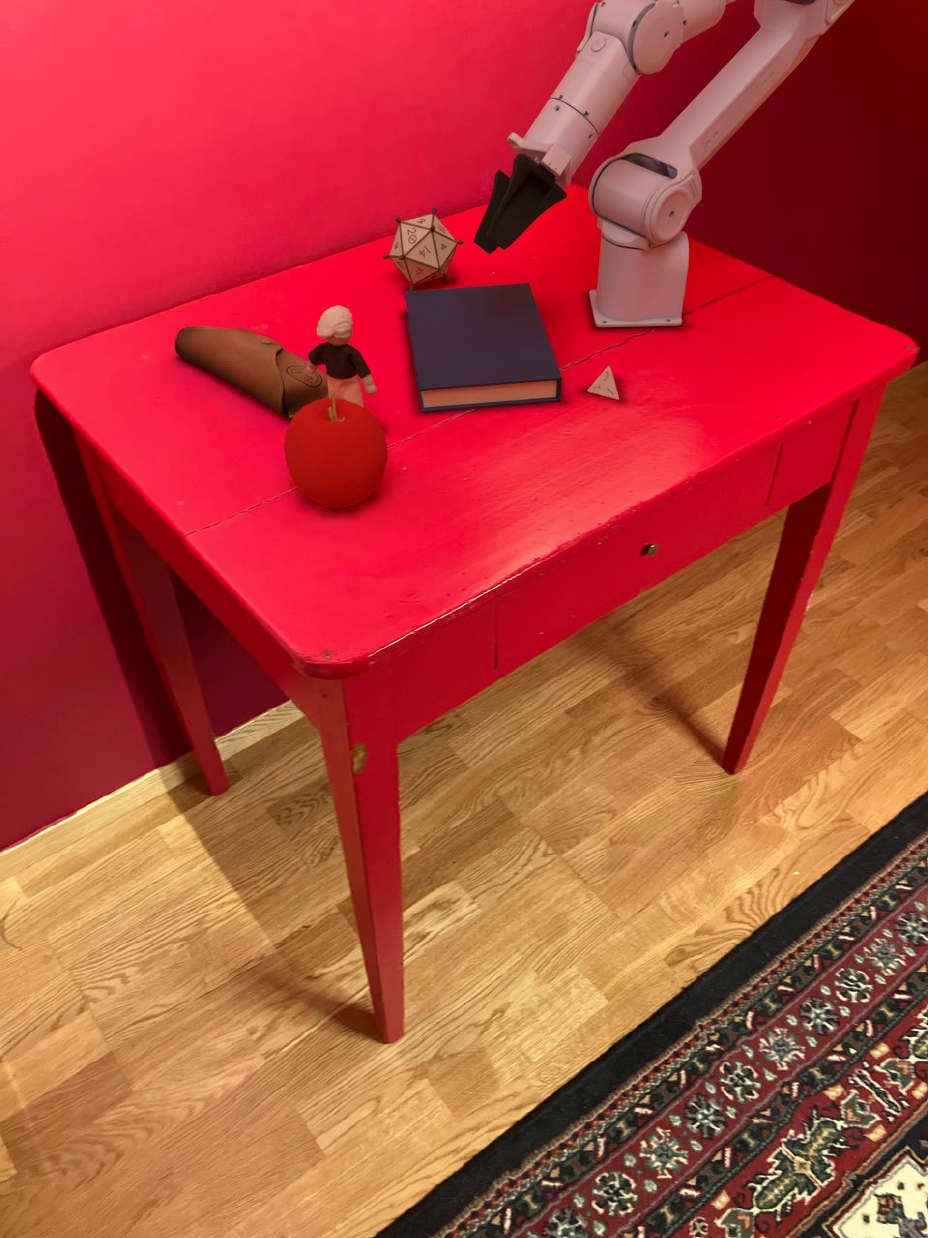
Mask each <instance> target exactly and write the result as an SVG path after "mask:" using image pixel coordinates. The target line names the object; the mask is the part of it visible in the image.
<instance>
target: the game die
mask: <svg viewBox="0 0 928 1238" xmlns="http://www.w3.org/2000/svg"><path fill="white" fill-rule="evenodd" d="M437 211H438V209H437V205H435V206H433V208H432V210H431V213H427V214H424V215H421V216H416V217H412V218H408V219H405V220H401V218H400V216H398V215H397V216H396V215H394V221H395V222H396V223H398V225H397V227H396V230H395V234H394V237H393V240H392V243H391V246H390V250H389V253H388V254H387V253H386V254H383V255H382V256H381V259H383V260H388V259H390V261H391V262H392V263H393V264H394V265H395V266H396V268H397V269H398V270H399V271H400V272H401V274H402V275H403V276H404V277H405V278H406V280H407V281H408V282H409V283H410V287H409V291H415V286H416V285H420V284H423V283H427V282H431V281H435V280H438V279H442V278H444V280H445V281H446V282H451V277H450V276H449V275H448V272H449V270H450V268H451V267H450V266H451V265H452V262H453V258H454V256H455V253H456V250H457V248H458V245H460V246H461V245H464V244H465V242H466V240H463V239H458V240H457V239H456V237H454V236H453V235H452V233H451V232H450V231H449V230H448V228H447V226H445V225H444V223H443V222H442V221H441V220H440V219H439V217H438V216H437V215H436V213H437Z"/></svg>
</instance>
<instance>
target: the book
mask: <svg viewBox="0 0 928 1238" xmlns="http://www.w3.org/2000/svg"><path fill="white" fill-rule="evenodd" d="M404 298H405V304H406V311H407V312H405V318H406V324H407V331H408V337H409V343H410V348H411V350H410V351H411V355H412V364H413V367H414V368H413V369H414V375H415V382H416V388H417V395H418V400H419V407H420V413H421V414H425V413H438V412H439V413H440V412H450V411H462V410H463V411H464V410H476V409H487V408H488V409H489V408H498V407H499V408H500V407H501V408H502V407H512V406H514V407H515V406H524V405H537V404H551V403H561V400H562V384H563V383H562V382H563V376H562V374H561V371H560V368H559V366H558V362H557V360H556V356H555V353H554V350H553V348H552V345H551V342H550V339H549V336H548V334H547V330H546V327H545V324H544V322H543V319H542V316H541V313H540V310H539V308H538V307H539V306H538V304H537V302H536V299H535V296H534V293H533V291H532V288H531V284H530V282H520V283H507V284H493V285H478V286H465V287H464V286H463V287H453V288H452V287H451V288H439V289H436V288H435V289H425V290H413V291H410V290H407V291H404Z"/></svg>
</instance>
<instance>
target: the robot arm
mask: <svg viewBox="0 0 928 1238" xmlns="http://www.w3.org/2000/svg"><path fill="white" fill-rule="evenodd" d="M736 1H737V0H601V2H597V1H596V2H594V5H593V6H592V8H591V9H590V12H589V15H588V18H587V22H586V28H585V33H584V36H583V39H582V40H581V42H580V44H579V46H578V47H577V49H576V54H575V56H574V57H575V59H574V61H573V62H572V64H571V66H570V67H569V69H568V70H567V72H566V73H565V75H564V76H563V78H562V79H561V80H560V82H559V84H558V85H557V86H556V88H555V89H554V91H553V93H552V94H551V95H550V97H549V98H548V100H547V102H546V103H545V104H544V106H543V108H542V109H541V110H540V112H539V113H538V115H537V117H536V118H535V120H534V121H533V122H532V124H531V125H530V127H529V129H528V130H527V132H526V133H525V134H524V135H523V136H524V137H523V138H522V137H521V136H520V135H519V134H518V133H516V132H511V133H510V134H509V135H508V137H507V138H506V143H507V144H508V145H509V146H511V147H512V148H513V151H514V154H515V157H514V159H513V163H512V170H511V174H510V176H509V175H508V174H506V173H505V172H503V171H502V170H501V169H497V170H496V172H495V173H494V178H493V185H492V186H493V187H492V192H491V195H490V199H489V202H488V204H487V207H486V209H485V211H484V214H483V216H482V218H481V221H480V223H479V225H478V227H477V230H476V232H475V234H474V237H473V243H474V244H475V245H477V246H478V247H479V248H480V249H481V250H483V251H484V252H485V253H486V254H488V255H491V254H493V253H494V252H495V251H496V250H498V248H500V249H501V250H502V251H505V250H507V249H508V248H509V247H511V245H513V244H514V243H515V242H516V241H517V240H518V239H519V238H520V237H521V236H522V234H524V232H525V231H526V230H527V229H528V228H530V226H532V224H533V223H534V222H536V220H537V219H538V218H539V217H540V216H542V215H543V214H544V213H545V212H546V211H548V210H549V209H551V208H552V207H553V206H555V205H556V204H558V203H560V202H562V201H563V200H565V199H567V198H568V194H567V192H566V191H565V190H566V189H567V188H568V187H569V186H570V184H571V183H572V178H573V176H574V175H575V173H576V171H577V170H578V169H579V167H580V165H582V163H583V161H584V160H585V159H586V157H587V155H588V154H589V153H590V151H591V149H592V148H593V147H594V146H595V144H596V142H597V141H598V139H599V137H600V136H601V135H602V133H603V132H604V130H605V129H606V127H607V126H608V124H609V123H610V122H611V120H612V119H613V117H614V116H615V114H616V113H617V111H618V110H619V108H620V107H621V105H622V104H623V103H624V101H625V99H626V98H627V97H628V95H629V93H630V92H631V90H632V89H633V87H634V86H635V85H636V83H637V82H638V80H639V79H640V77H641V76H642V74H645V75H651V74H654V73H660V72H661V71H662V70H663V69H664V68H665V67H666V66H667V64H668V63H669V62H670V59H671V57H672V56H673V54H674V53H675V51H677V49H679V48H680V47H681V45H682V44H683V43H685V42H687V41H689V40H690V39H692V38H694V37H696V36H698V35H699V34H702V33H703V32H705V31H707V30H709V29H710V28H713V27H714V26H716V25H717V24H718V23H719V22H720V20H721V19H722V17H723V15H724V13H725V10H726V5H729V4H731V3H734V2H736ZM855 1H856V0H754V6H753V16H754V18H755V19H756V21H757V23H758V25H759V29H758V30H757V31H756V32H755V34H754V35H753V36H752V37H751V38H750V39H749V40H748V41H747V42H746V43H745V44H744V45H743V46H742V47H741V49H740V50H738V52H737V53H736V54H735V55H734V56H733V57H732V58H731V59H730V60H729V61H728V63H726V64H725V65H724V67H723V68H722V69H720V71H719V72H718V73H717V74H716V75H715V77H713V78H712V80H711V81H710V82H709V83H708V84H707V85H706V86H705V87H704V88H703V89H702V90H701V91H700V92H699V93H698V94H697V96H696V97H695V98H694V99H692V101H691V102H690V103H689V104H688V105H687V106H686V108H684V109H683V110H682V112H681V113H680V114H678V116H677V117H676V118H675V119H674V120H673V121H672V122H671V123H670V124H669V125H668V126H667V127H666V128H665V130H664V131H663V132H662V133H661V134H660V135H658V136H655V137H650V138H646V139H641V140H638V141H637V140H636V141H634V142H631V143H629V144H628V145H627V146H626V147H625V148H624V149H623V151H621V152H620V153H618V154H617V155H614V156H611V157H609V158H607V159H606V160H604V161H603V162H602V163H601V164H600V165H599V166H598V168H597V169H596V170H595V172H594V174H593V175H592V179H591V180H590V184H589V187H588V193H587V201H588V206H589V209H590V212H592V214H593V215H594V216H596V217H597V224H596V227H597V229H599V230H600V231H601V235H600V247H599V258H598V259H599V260H598V271H597V272H598V273H597V285H596V286H597V287H596V289H591V290H589V292H588V296H589V300H590V306H591V310H592V316H593V320H594V325H595V327H597V328H631V327H635V328H636V327H678V326H682V323H683V319H682V313H683V308H684V302H685V301H684V300H685V294H686V287H687V279H688V273H689V264H690V247H689V246H690V243H689V238H688V234H687V232H686V231H683V229H684V226H686V224H687V221H688V218H689V216H690V215H691V213H692V211H693V210H694V209H695V207H696V206H697V205H698V204H699V203H700V202H701V201H702V199H703V198H702V197H703V185H702V179H701V175H700V171H701V170H702V169H703V168H704V167H705V165H707V164H708V162H709V161H711V159H712V158H713V157H714V156H715V155H716V154H717V153H718V152H719V151H720V149H722V148H723V146H724V145H725V144H726V143H727V142H728V141H729V140H730V139H731V138H732V137H733V135H734V134H736V132H738V130H739V129H740V128H741V127H743V125H744V124H745V123H746V121H747V120H748V119H750V117H751V116H752V115H753V114H754V113H755V112H756V111H757V110H758V109H759V108H760V107H761V105H762V104H764V103H765V102H766V100H767V99H768V98H769V97H770V96H771V95H772V94H773V93H774V92H775V91H776V89H777V88H778V87H779V86H780V85H781V84H782V83H783V82H784V81H785V80H786V79H787V78H788V76H790V75H791V73H793V72H794V70H796V68H797V67H798V66H799V65H800V63H802V62H803V60H804V59H805V58H806V57H807V56H808V54H809V53H810V51H811V50H812V48H813V47H814V46H815V43H816V42H817V41H818V39H819V38H820V36H822V35H824V34H825V33H826V32H827V31H828V30H829V29H830V28H831V27H832V25H833V24H835V23H836V21H837V20H838V19H839V18H840V17H841V16H842V15H843V14H844V13H845V12H846V10H848V9H849V8H850V6H852V4H853V3H854V2H855Z"/></svg>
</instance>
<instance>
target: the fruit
mask: <svg viewBox="0 0 928 1238" xmlns="http://www.w3.org/2000/svg"><path fill="white" fill-rule="evenodd" d="M331 395H332V398H325V399H320V400H317V401H314V402H312V403H310V404H308V405H306V406H304V407H303V408H302V409H301V410H300V411H299V412H298V413H297V414H296V415H295V416H294V417H293V418H291V420H290V423H289V425H288V427H287V429H286V432H285V436H284V442H283V451H284V459H285V463H286V466H287V469H288V472H289V475H290V477H291V479H292V481H293V483H294V485H295V486H296V487H297V489H298V490H299V491H300V492H301V493H302V495H304V496H305V497H307V498H308V499H310V500H311V501H313V502H314V503H316V504H318V505H320V506H321V507H325V508H347V507H350V506H354V505H357V504H359V503H361V502H363V501H365V500H366V499H368V498H369V497H370V496H371V495H372V494H373V493H374V492H375V491H376V489H377V488H378V486H379V484H380V482H381V480H382V478H383V476H384V473H385V470H386V466H387V461H388V456H389V454H388V453H389V452H388V444H387V440H386V436H385V433H384V430H383V428H382V425H381V424H380V422H379V420H378V418H377V417H376V416H375V414H373V413H372V412H371V411H370V410H368V408H366V407H365V406H364V407H362V406H360V405H358V404H355V403H352V402H349V401H346V400H342V399H336V398H335V391H333V390H331Z"/></svg>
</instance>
